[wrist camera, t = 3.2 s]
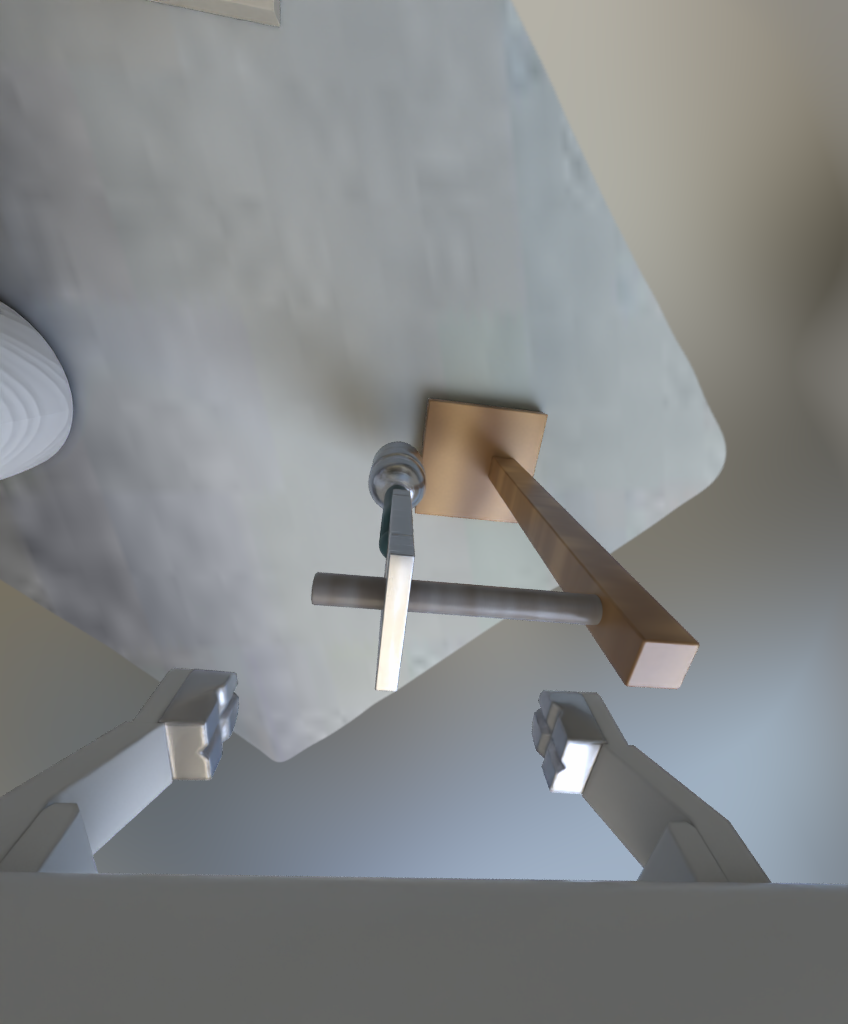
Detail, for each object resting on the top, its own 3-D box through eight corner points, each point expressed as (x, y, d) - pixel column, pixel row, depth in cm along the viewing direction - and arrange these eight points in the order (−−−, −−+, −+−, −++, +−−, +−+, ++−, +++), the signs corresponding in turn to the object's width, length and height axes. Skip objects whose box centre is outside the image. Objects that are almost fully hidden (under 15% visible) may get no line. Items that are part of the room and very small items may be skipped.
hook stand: (360, 502, 37) (293, 756, 14) (368, 390, 34) (295, 488, 10) (518, 517, 39) (690, 771, 16) (542, 412, 35) (816, 539, 12)
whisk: (371, 490, 34) (329, 688, 14) (376, 424, 32) (336, 549, 12) (418, 495, 35) (440, 694, 15) (426, 429, 32) (465, 560, 13)
